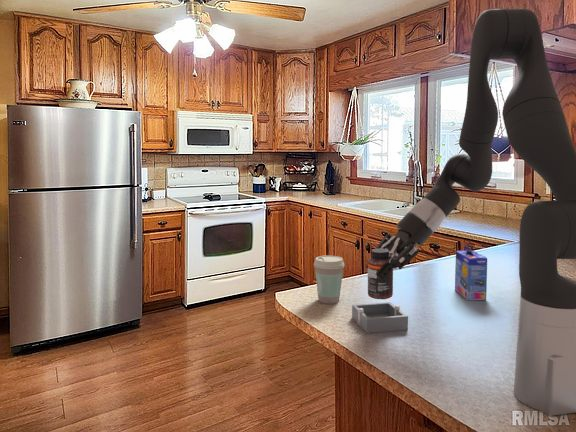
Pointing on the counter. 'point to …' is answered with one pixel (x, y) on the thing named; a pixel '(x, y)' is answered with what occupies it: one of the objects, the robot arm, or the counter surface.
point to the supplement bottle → (375, 284)
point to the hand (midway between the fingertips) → (373, 273)
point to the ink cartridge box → (471, 274)
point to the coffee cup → (328, 278)
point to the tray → (379, 317)
